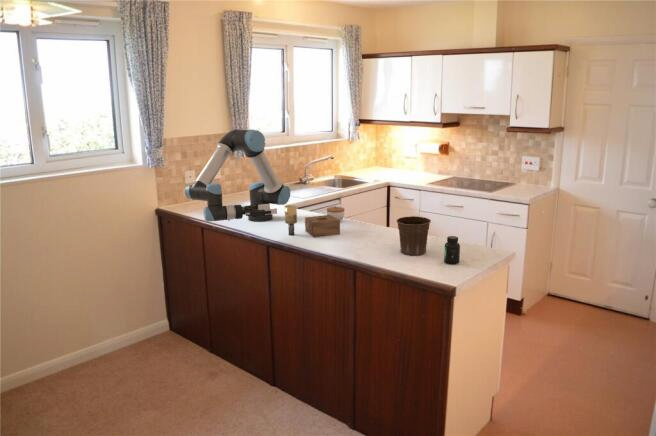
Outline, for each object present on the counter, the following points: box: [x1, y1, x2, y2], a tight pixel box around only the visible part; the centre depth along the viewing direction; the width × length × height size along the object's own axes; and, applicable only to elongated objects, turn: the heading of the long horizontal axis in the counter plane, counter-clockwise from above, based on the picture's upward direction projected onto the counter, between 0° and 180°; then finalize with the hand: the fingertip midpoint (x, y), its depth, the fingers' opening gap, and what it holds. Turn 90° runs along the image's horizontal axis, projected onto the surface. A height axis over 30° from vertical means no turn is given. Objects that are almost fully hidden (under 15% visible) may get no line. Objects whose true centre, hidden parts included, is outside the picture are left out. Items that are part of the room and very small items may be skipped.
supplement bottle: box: [443, 235, 461, 266], centre depth 245 cm, size 7×7×12 cm
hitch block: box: [304, 214, 341, 238], centre depth 299 cm, size 15×15×8 cm
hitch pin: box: [284, 204, 298, 236], centre depth 295 cm, size 6×6×16 cm
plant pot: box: [396, 216, 432, 257], centre depth 260 cm, size 16×16×16 cm
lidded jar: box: [326, 205, 345, 223], centre depth 324 cm, size 11×11×9 cm
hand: (273, 208), depth 290 cm, fingers open, 13 cm apart
